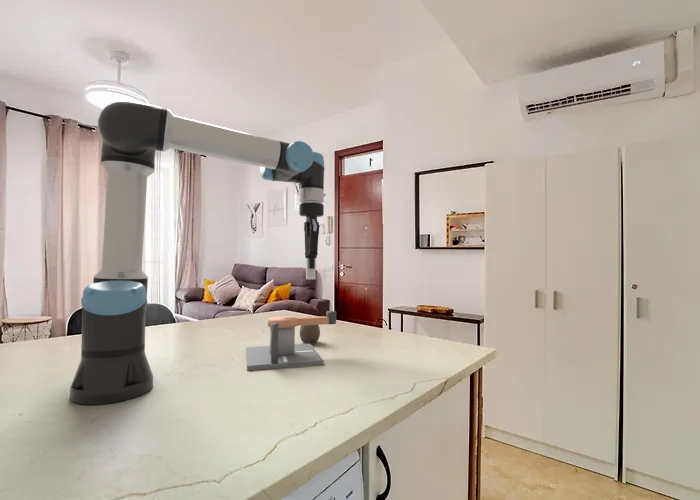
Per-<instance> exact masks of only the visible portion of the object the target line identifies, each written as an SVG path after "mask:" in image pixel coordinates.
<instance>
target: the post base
mask: <svg viewBox="0 0 700 500" xmlns="http://www.w3.org/2000/svg"><path fill="white" fill-rule="evenodd" d="M278 325H279V324H278V323H273V324H272V328H271V327H269V329H270V330H269V345H262V346H261V345H260V346H245V356H246V357H245V358H246V359H245V360H246V371H259V370H270V369H271V370H272V369H273V370H274V369H286V368H299V367H312V366H323V365H324V358H322V357H321V355H319V353H318V352H317V350H316V349H315V348H314V347H313V344H304V343H296V344H295V339H296V338H295V335H296V328H295V327H292V328H278Z"/></svg>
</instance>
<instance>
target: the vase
mask: <svg viewBox="0 0 700 500" xmlns="http://www.w3.org/2000/svg"><path fill="white" fill-rule="evenodd" d="M320 328H321V327H320V325H300V328H299V339H300V340H301V342H302V344H311V345H314V344H316V343H317V342H318V341H319V340H320V336H321V329H320Z"/></svg>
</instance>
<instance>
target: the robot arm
mask: <svg viewBox="0 0 700 500" xmlns="http://www.w3.org/2000/svg"><path fill="white" fill-rule="evenodd" d="M97 126H98V128H97V129H98V132H99V134H100V136H101V152H100V153H101V155H100V157H101V158H100V165H101V167H102V168H103V169H104V170H106V172H107V175H106V176H107V177H106V192H105V193H106V195H105V207H104V208H105V210H104V228H103V243H102V256H101V257H102V258H101V269H100V271H98V272H97V273H95V275H93V278H92V279H93V282H92V283H91V284H88V285H87V286H86V287H84V289H83V291H82V297H81V300H80V304H81V308H82V309H81V314H82V315H81V344H80V346H81V352H80V354H81V355H80V361H79V364H78V367H77V370H76V373H75V375H74V377H73V380H72V382H71V385H70V388H69V400H70V401H71V402H72V403H75V404H79V405H89V406H90V405H105V404H112V403H118V402H123V401H127V400H130V399H133V398H136V397H140V396H142V395H143V394H146V393H148V392H149V391H150V390H152V388H153V386H154V374H153V372H152V369H151V366H150V363H149V361H148V357H147V354H146V352H145V350H146V349H145V347H146V313H147V311H148V310H147V309H148V287H149V286H148V285H149V284H148V282H149V275H147V274H145V273H144V271H143V255H144V251H143V250H144V239H145V237H144V236H145V221H146V204H147V203H146V202H147V187H148V186H147V185H148V178H149V177H150V176H151V175H152V174H154V173H155V165H156V153H157V152H156V151H159V152H163V153H164V152H166V151H168V150H171V149H172V150H176V151H182V152H187V153H191V154H196V155H202V156H207V157H212V158H216V159H220V160H225V161H231V162H236V163H241V164H246V165H251V166H255V167H260V168H259V172H260V176H261V178H262V179H263V180H266V181H272V182H284V183H285V182H286V183H294V184H299V192H298V193H299V195H298V196H299V203H300V204H299V205H298V206H299V209H298V211H299V212H298V214H299V216H301V217H305V218H306V219H305V222H304V223H303V226H304V227H303V230H304V231H303V232H304V257H305V258H304V259H305V261H306V262H305V266H306V267H305V279H306V280H316V274H317V273H316V270H317V269H316V268H317V267H316V266H317V264H316V260H317V257H318V249H319V248H318V246H319V232H320V227H321V226H320V222H319V221H318V218H321V217H323V216H324V211H325V206H324V204H323V203H324V200H325V199H324V197H326V193H324V190H325V189H324V188H325V187H324V185H325V181H324V180H325V179H324V178H325V169H326V168H325V158H324V156H323V154H321V153H320V152H317V151H313V149H312V147H311V146H310V145H309V144H308V143H307V142H305V141H302V140H298V141H297V140H296V141H292V142H291V143H290V142H285V141H281V140H275V139H272V138H268V137H264V136H260V135H255V134H252V133H247V132H243V131H240V130H235V129H231V128H227V127H222V126H218V125H215V124H211V123H207V122H203V121H199V120H195V119H190V118H187V117H182V116H178V115H175V114H173V112H172V111H171V110H170V109H168V108H164V107H161V106H157V105H153V104H150V103H149V104H148V103H144V102H140V101H134V100H117V101H114V102H111V103H109V104H107V105H106V106H104V107H103V109H102V110H101V111H100V113H99V115H98V119H97Z"/></svg>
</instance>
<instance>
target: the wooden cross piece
mask: <svg viewBox="0 0 700 500" xmlns="http://www.w3.org/2000/svg"><path fill="white" fill-rule="evenodd" d="M273 323H278V324H279V325H278V328H292V327H298V326H301V325H319V326H321V325H336V324H337V311H336V310H327V311H326V316H324V315H322V316H301V317H300V316H298V317H295V316H289V315H287V316H286V315H283V316H281V315H278V316H272V317H269V318H267V327H268V328H270V327H271V328H272V324H273Z"/></svg>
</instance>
